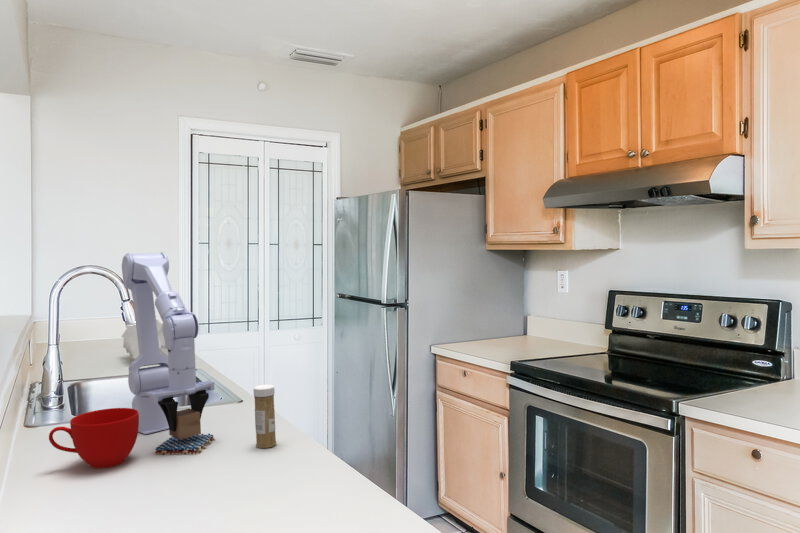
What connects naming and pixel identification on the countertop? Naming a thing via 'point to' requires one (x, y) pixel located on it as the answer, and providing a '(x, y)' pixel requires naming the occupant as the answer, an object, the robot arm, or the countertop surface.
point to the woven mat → (184, 445)
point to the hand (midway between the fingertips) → (184, 427)
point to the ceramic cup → (102, 436)
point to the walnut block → (187, 424)
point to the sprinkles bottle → (264, 416)
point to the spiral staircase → (132, 340)
